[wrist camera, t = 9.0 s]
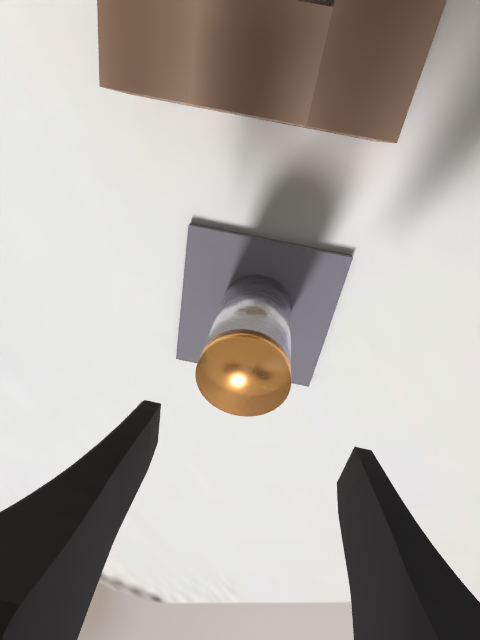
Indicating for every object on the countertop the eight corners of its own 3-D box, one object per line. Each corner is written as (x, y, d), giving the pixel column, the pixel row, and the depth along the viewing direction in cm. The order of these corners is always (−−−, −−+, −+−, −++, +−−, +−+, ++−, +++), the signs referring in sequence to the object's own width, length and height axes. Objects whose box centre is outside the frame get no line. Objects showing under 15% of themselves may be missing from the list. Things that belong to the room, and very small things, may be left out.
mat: (351, 255, 19) (352, 257, 18) (308, 382, 23) (308, 386, 23) (190, 223, 19) (188, 225, 19) (177, 355, 23) (176, 358, 23)
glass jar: (297, 281, 19) (301, 350, 13) (282, 340, 21) (280, 424, 15) (227, 269, 20) (199, 330, 13) (219, 328, 21) (192, 406, 15)
